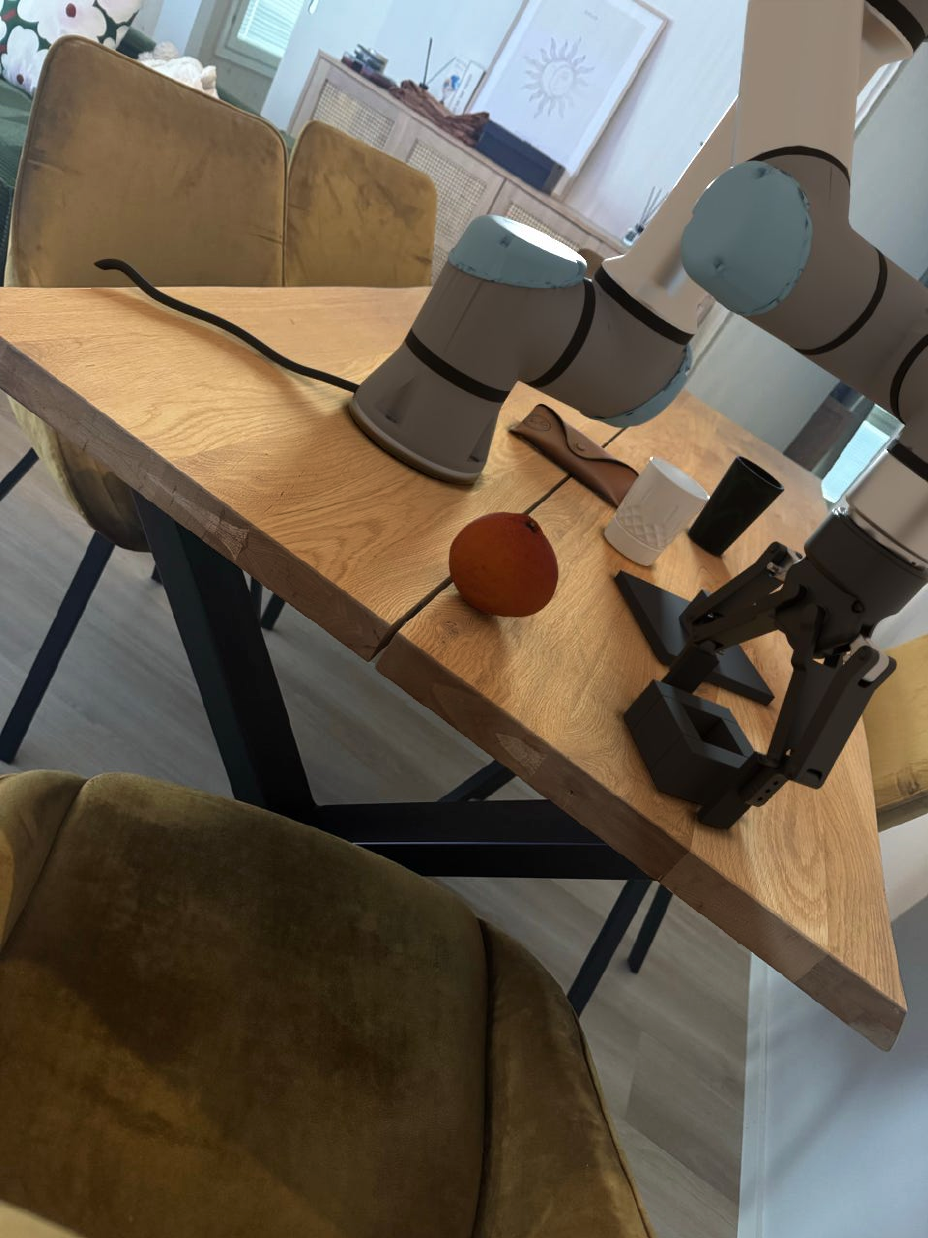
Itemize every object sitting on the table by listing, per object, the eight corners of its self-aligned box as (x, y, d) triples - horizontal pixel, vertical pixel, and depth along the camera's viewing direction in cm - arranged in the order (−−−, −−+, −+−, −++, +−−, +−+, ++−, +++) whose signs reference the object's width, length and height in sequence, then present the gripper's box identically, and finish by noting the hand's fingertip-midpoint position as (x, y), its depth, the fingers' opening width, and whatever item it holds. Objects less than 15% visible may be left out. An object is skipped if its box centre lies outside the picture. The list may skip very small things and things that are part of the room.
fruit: (499, 650, 68) (558, 567, 65) (414, 575, 70) (466, 491, 67) (544, 626, 76) (599, 551, 72) (466, 559, 78) (516, 483, 75)
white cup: (661, 561, 108) (714, 493, 103) (648, 577, 101) (705, 504, 96) (607, 521, 109) (657, 452, 104) (591, 534, 102) (644, 460, 97)
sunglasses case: (507, 426, 116) (538, 386, 116) (506, 444, 123) (535, 405, 123) (622, 510, 114) (653, 468, 115) (614, 522, 121) (643, 483, 122)
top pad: (657, 791, 64) (692, 752, 63) (622, 715, 71) (653, 678, 69) (738, 817, 68) (774, 781, 66) (698, 742, 74) (729, 708, 72)
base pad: (660, 662, 83) (694, 621, 81) (613, 578, 94) (642, 540, 92) (767, 706, 89) (802, 669, 87) (711, 622, 100) (740, 587, 98)
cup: (729, 568, 122) (788, 496, 117) (682, 537, 121) (739, 463, 116) (724, 548, 129) (780, 480, 124) (680, 519, 128) (734, 449, 123)
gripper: (1041, 666, 52) (786, 901, 61) (836, 476, 70) (664, 679, 80) (961, 623, 49) (705, 878, 58) (767, 436, 67) (597, 653, 77)
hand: (681, 763), depth 69 cm, fingers open, 11 cm apart
